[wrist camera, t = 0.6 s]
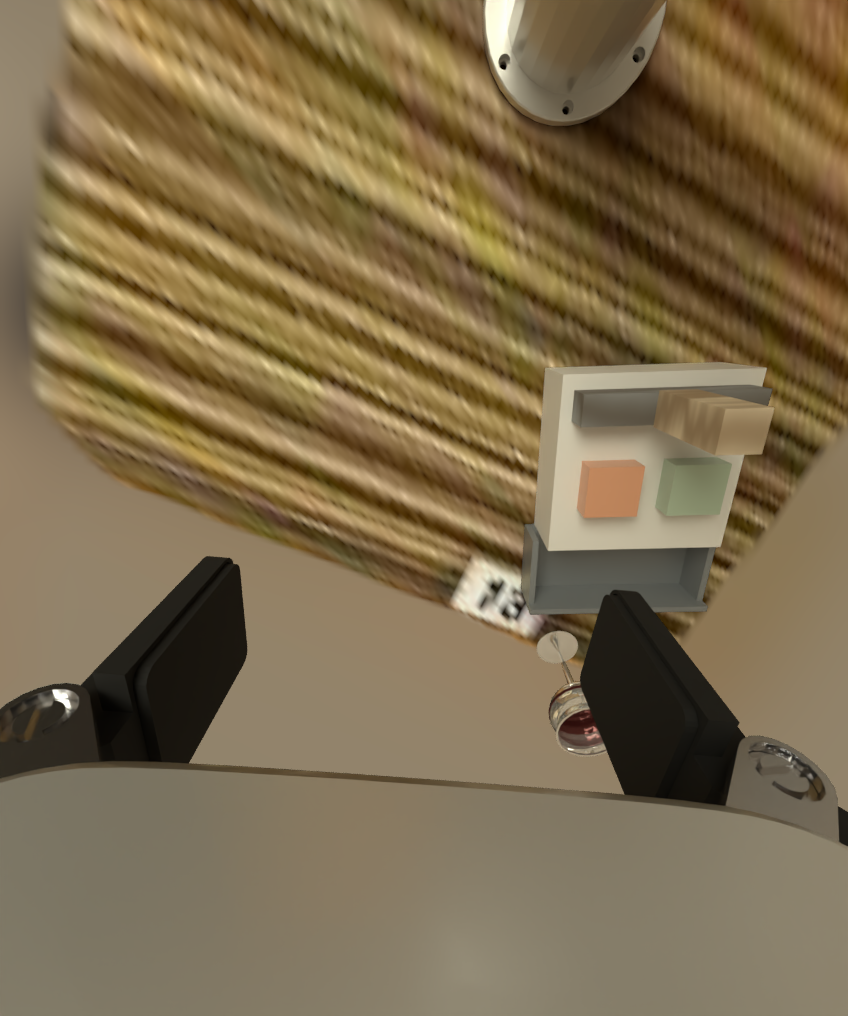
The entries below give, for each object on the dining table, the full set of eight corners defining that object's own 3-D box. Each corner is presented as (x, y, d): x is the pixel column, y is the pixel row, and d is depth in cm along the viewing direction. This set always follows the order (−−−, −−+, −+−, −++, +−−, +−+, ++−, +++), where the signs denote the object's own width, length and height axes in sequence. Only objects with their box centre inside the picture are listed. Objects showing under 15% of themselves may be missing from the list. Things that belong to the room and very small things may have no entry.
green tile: (664, 458, 37) (676, 465, 36) (717, 457, 37) (732, 463, 35) (655, 506, 39) (666, 515, 37) (705, 505, 39) (719, 514, 37)
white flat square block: (545, 367, 40) (563, 374, 35) (720, 362, 40) (767, 367, 34) (534, 524, 47) (548, 550, 41) (685, 520, 46) (720, 547, 41)
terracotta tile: (581, 460, 38) (589, 467, 36) (634, 459, 37) (645, 466, 36) (576, 508, 39) (583, 517, 37) (626, 507, 39) (636, 516, 37)
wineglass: (582, 668, 54) (621, 756, 43) (527, 669, 54) (552, 757, 43) (588, 624, 52) (631, 706, 40) (530, 625, 52) (558, 707, 41)
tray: (524, 524, 47) (535, 546, 42) (695, 520, 46) (724, 541, 41) (520, 587, 50) (530, 614, 45) (680, 584, 49) (706, 611, 45)
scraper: (574, 388, 35) (628, 412, 26) (750, 382, 35) (873, 404, 25) (571, 422, 36) (622, 457, 27) (741, 417, 36) (856, 451, 26)
